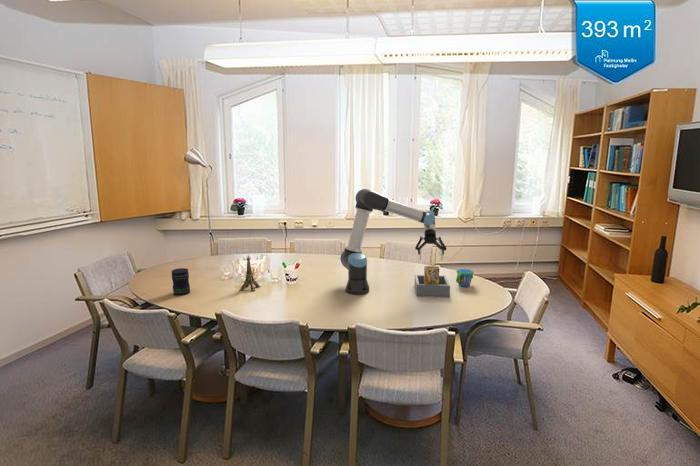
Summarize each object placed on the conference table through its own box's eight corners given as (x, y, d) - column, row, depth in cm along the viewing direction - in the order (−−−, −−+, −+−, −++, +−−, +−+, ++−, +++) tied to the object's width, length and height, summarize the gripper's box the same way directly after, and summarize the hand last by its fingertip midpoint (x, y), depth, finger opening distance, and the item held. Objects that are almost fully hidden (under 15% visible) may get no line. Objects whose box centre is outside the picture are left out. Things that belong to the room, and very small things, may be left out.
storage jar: (186, 289, 266) (184, 267, 263) (192, 293, 260) (191, 270, 257) (170, 293, 260) (168, 270, 257) (177, 297, 253) (175, 273, 250)
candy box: (437, 288, 265) (438, 265, 262) (438, 290, 261) (439, 267, 258) (423, 288, 265) (424, 265, 262) (424, 290, 261) (425, 267, 258)
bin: (416, 296, 254) (416, 284, 252) (414, 285, 273) (414, 274, 272) (449, 297, 252) (450, 285, 251) (445, 286, 272) (445, 275, 270)
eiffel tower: (254, 292, 262) (252, 254, 257) (238, 290, 264) (236, 253, 259) (260, 286, 272) (259, 249, 267) (245, 285, 274) (243, 249, 269)
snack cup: (466, 281, 282) (466, 267, 280) (478, 285, 274) (479, 270, 271) (450, 285, 274) (450, 270, 272) (462, 290, 265) (463, 274, 263)
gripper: (447, 235, 282) (449, 262, 270) (411, 234, 284) (411, 261, 273) (449, 228, 276) (451, 256, 264) (411, 228, 278) (412, 255, 266)
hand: (431, 258), depth 268 cm, fingers open, 13 cm apart
